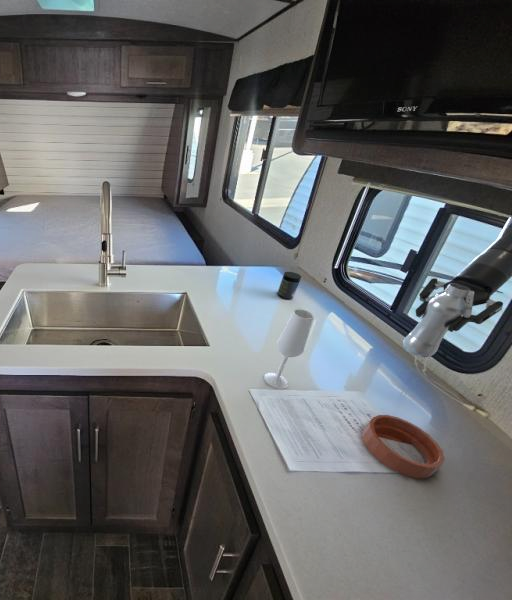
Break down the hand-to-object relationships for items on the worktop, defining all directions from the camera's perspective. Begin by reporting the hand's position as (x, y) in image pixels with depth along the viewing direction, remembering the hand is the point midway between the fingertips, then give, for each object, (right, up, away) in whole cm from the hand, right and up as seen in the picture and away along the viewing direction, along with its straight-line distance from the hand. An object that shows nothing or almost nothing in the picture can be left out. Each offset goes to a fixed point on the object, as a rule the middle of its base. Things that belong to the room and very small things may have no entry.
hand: (433, 322), depth 79 cm
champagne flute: (-30, -19, +17) cm, 40 cm away
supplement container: (-3, +7, +62) cm, 63 cm away
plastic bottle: (+1, -9, +6) cm, 11 cm away
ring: (-12, -31, -3) cm, 34 cm away
